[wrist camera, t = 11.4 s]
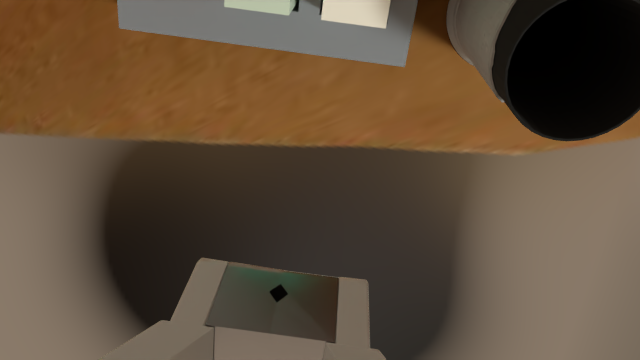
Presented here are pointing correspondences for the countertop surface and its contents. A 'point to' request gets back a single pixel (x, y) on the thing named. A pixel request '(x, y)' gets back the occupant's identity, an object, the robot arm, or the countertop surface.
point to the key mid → (263, 5)
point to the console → (276, 28)
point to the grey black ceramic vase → (555, 60)
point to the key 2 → (357, 12)
